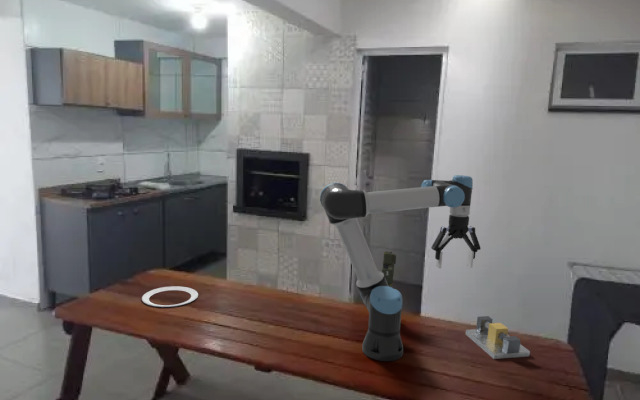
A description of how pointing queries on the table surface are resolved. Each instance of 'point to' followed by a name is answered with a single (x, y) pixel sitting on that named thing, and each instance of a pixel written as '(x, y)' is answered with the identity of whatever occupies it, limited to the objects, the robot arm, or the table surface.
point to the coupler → (497, 332)
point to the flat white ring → (150, 293)
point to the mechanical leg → (389, 266)
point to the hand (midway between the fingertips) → (454, 267)
